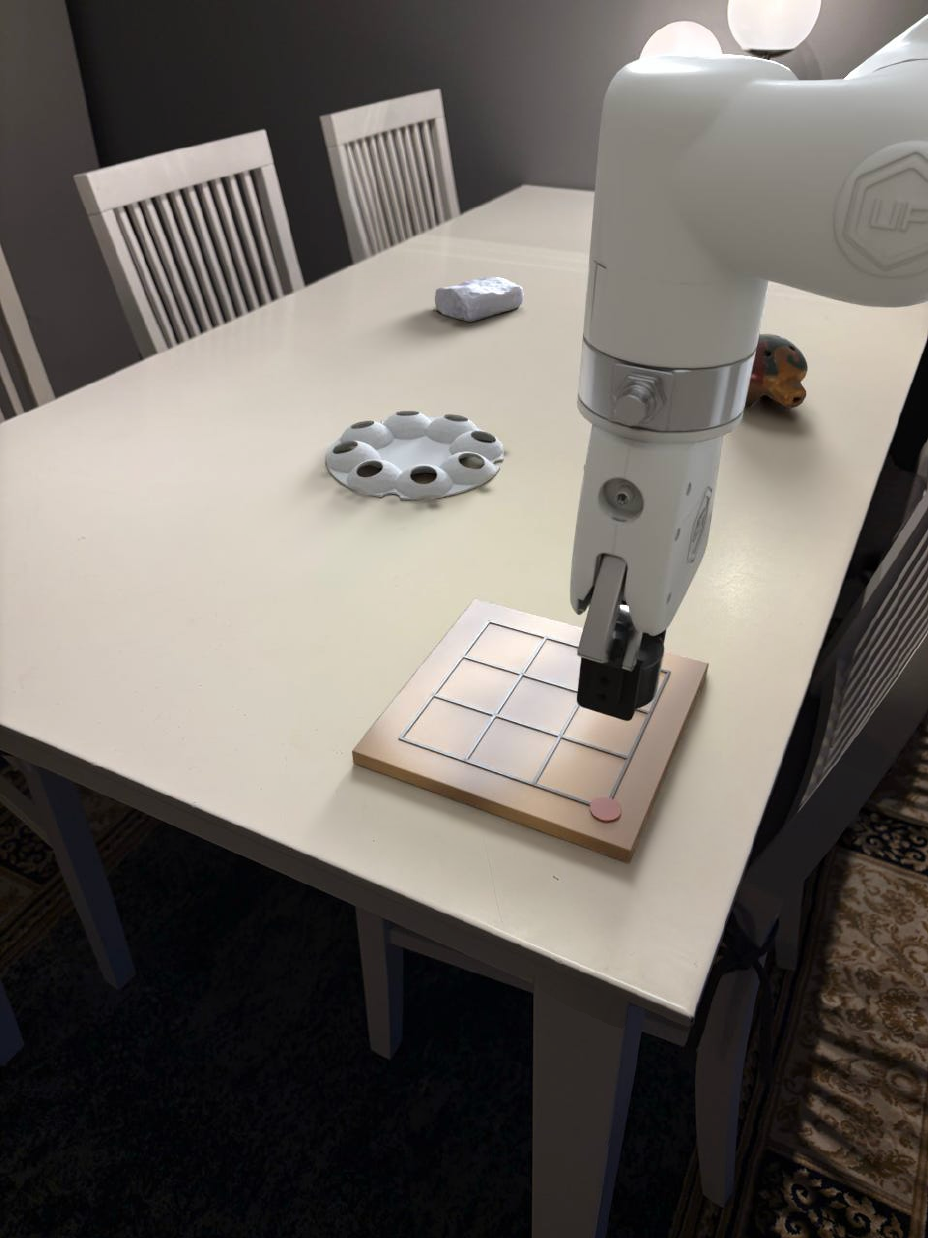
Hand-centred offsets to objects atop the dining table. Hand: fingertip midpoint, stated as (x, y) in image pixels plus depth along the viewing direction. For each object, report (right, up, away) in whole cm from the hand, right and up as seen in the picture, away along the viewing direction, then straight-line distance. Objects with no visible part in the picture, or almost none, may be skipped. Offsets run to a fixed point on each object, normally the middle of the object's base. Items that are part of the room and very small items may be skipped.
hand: (620, 680), depth 52 cm
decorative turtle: (+28, +31, +61) cm, 74 cm away
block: (-7, +51, +88) cm, 102 cm away
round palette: (-14, +21, +49) cm, 55 cm away
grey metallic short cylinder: (0, 0, 0) cm, 0 cm away
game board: (-3, -4, +15) cm, 16 cm away
